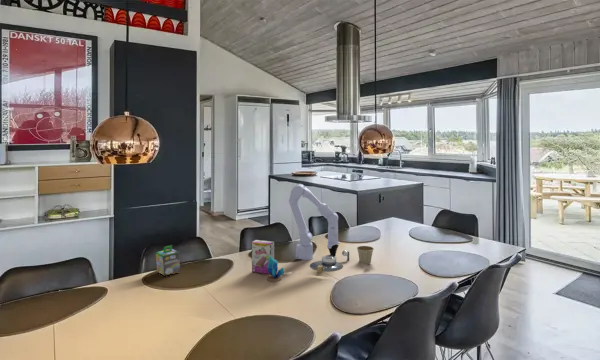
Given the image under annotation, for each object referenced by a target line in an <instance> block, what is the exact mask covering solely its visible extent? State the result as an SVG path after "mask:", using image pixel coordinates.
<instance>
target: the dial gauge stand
mask: <svg viewBox="0 0 600 360" xmlns="http://www.w3.org/2000/svg"><path fill="white" fill-rule="evenodd" d="M341 255H342V256H344V257H346V258H347V259H346V260H347V261H350V251H349V250H346V249H344V250H343V251H342V253H341Z"/></svg>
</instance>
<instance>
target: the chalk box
mask: <svg viewBox="0 0 600 360" xmlns="http://www.w3.org/2000/svg"><path fill="white" fill-rule="evenodd" d="M155 262H156V265H155V266H156V273H157V272H159V273H161V274H163V275H166V274H170V273H173V272H178V271H180V272H181V260H180V251H179V250H175V249H173V244H170V245H165V246H163V250H160V251H157V252H155Z"/></svg>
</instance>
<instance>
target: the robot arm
mask: <svg viewBox="0 0 600 360" xmlns="http://www.w3.org/2000/svg"><path fill="white" fill-rule="evenodd" d="M289 194H290V195H289V199H288V203H289V205H290V209H291V212H292V215H293V217H294V220H295V223H296V225H297V229H298V235H299V243H298V244H296V245H295V260H303V261H310V260H313V259H314V257H313V256H314V255H313V254H314V253H313V252H314V250H313V249H314V248H313V247H314V245H313V242H312V240H313V234H312V233H311V232H310V230H309V228H308V226H307V223H306V221H305V218H304V216H303V211H302V209H301V206H300V203H299V201H300V199H301V198H306V199H308V200H309V201H310V202H311V203H312V204H314V205H315V206H316V207H317V212H319V213H320V214H321V215H322V216H323V218H325V219H326V220H327V223H328V227H327V249H328V251H329V255H332V256H335V257H337V256H336V254H337V250H338V247H339V245H340V244H341V242H340V241H339V215H338V213H337V212H335V211H334V210H332V209H331V208H330V207H329V204H328V203H323V202H321V201H320V200H319V198H317V197H316V196H315V194H313V192H312V191H311V190H310V189H309V188H308V187H306V186H305V185H304V184H302V183H298V184H296V185H294V186H293V188H292V189H291V190H290V193H289Z"/></svg>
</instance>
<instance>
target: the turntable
mask: <svg viewBox="0 0 600 360" xmlns="http://www.w3.org/2000/svg"><path fill="white" fill-rule="evenodd" d="M309 268H310V269H312V270H314V271H316V273H317V274H323V273H325V272H326V273H327V272H336V271H340V270H341V269H343V268H344V264H343V263H341V262H338V261H336V264H335V265H324V264H322V260H317V261H313V262H311V263H310V264H309Z"/></svg>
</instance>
